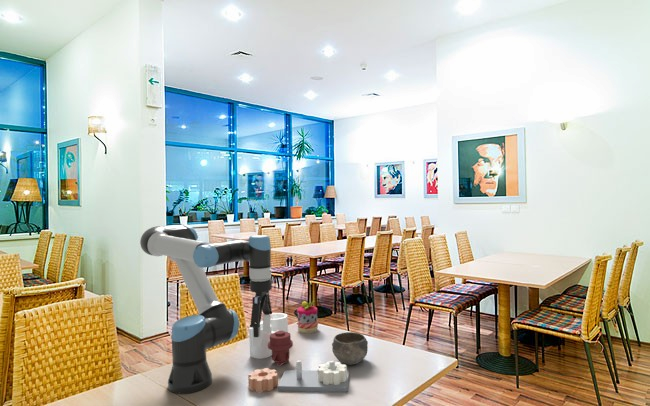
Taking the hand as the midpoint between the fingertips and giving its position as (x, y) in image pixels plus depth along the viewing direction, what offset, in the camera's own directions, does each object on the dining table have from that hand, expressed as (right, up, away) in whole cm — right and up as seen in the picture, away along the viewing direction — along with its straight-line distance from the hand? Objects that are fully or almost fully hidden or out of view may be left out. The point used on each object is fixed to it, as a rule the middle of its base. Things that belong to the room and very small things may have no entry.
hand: (262, 338), depth 143 cm
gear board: (+19, -16, +1) cm, 25 cm away
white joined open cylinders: (-2, -17, +36) cm, 40 cm away
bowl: (+33, -16, +19) cm, 41 cm away
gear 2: (+25, -14, 0) cm, 29 cm away
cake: (+14, -16, +59) cm, 62 cm away
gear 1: (0, -17, 0) cm, 17 cm away
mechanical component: (+5, -16, +20) cm, 26 cm away
